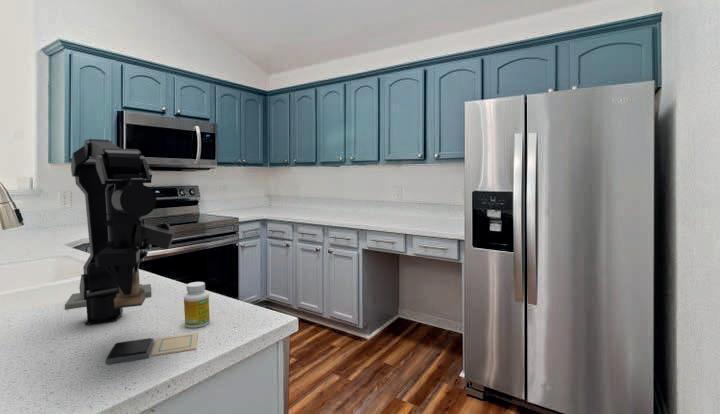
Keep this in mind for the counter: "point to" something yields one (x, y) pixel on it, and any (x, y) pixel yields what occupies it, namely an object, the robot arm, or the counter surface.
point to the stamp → (131, 295)
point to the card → (175, 344)
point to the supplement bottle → (196, 305)
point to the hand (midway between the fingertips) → (129, 292)
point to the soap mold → (78, 301)
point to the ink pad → (130, 351)
